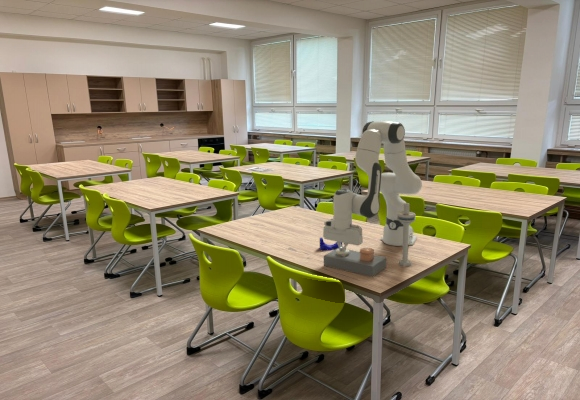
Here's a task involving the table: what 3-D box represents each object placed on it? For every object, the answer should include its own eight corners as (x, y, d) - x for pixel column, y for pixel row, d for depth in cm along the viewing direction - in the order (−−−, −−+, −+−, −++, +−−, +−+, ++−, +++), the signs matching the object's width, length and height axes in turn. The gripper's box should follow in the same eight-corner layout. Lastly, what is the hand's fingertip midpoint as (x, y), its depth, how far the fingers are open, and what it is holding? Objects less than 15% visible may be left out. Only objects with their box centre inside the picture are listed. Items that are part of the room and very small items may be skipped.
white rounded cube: (340, 259, 206) (340, 247, 204) (351, 261, 202) (351, 249, 201) (333, 263, 201) (333, 251, 200) (345, 265, 197) (345, 253, 196)
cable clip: (320, 250, 222) (320, 240, 220) (319, 248, 226) (319, 237, 225) (342, 249, 222) (342, 238, 221) (341, 247, 227) (341, 236, 225)
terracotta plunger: (363, 258, 197) (364, 246, 196) (376, 261, 194) (376, 249, 192) (357, 262, 192) (357, 250, 191) (370, 265, 189) (370, 253, 187)
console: (338, 257, 211) (338, 247, 210) (386, 267, 195) (386, 257, 194) (323, 265, 200) (323, 255, 199) (372, 277, 184) (372, 266, 183)
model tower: (417, 266, 195) (419, 204, 189) (402, 268, 193) (404, 206, 186) (407, 260, 203) (408, 201, 197) (392, 263, 200) (393, 202, 194)
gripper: (365, 224, 193) (364, 252, 196) (328, 218, 206) (328, 245, 208) (358, 227, 188) (358, 256, 191) (321, 221, 201) (321, 248, 203)
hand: (342, 250), depth 200 cm, fingers closed, pressing on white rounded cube
